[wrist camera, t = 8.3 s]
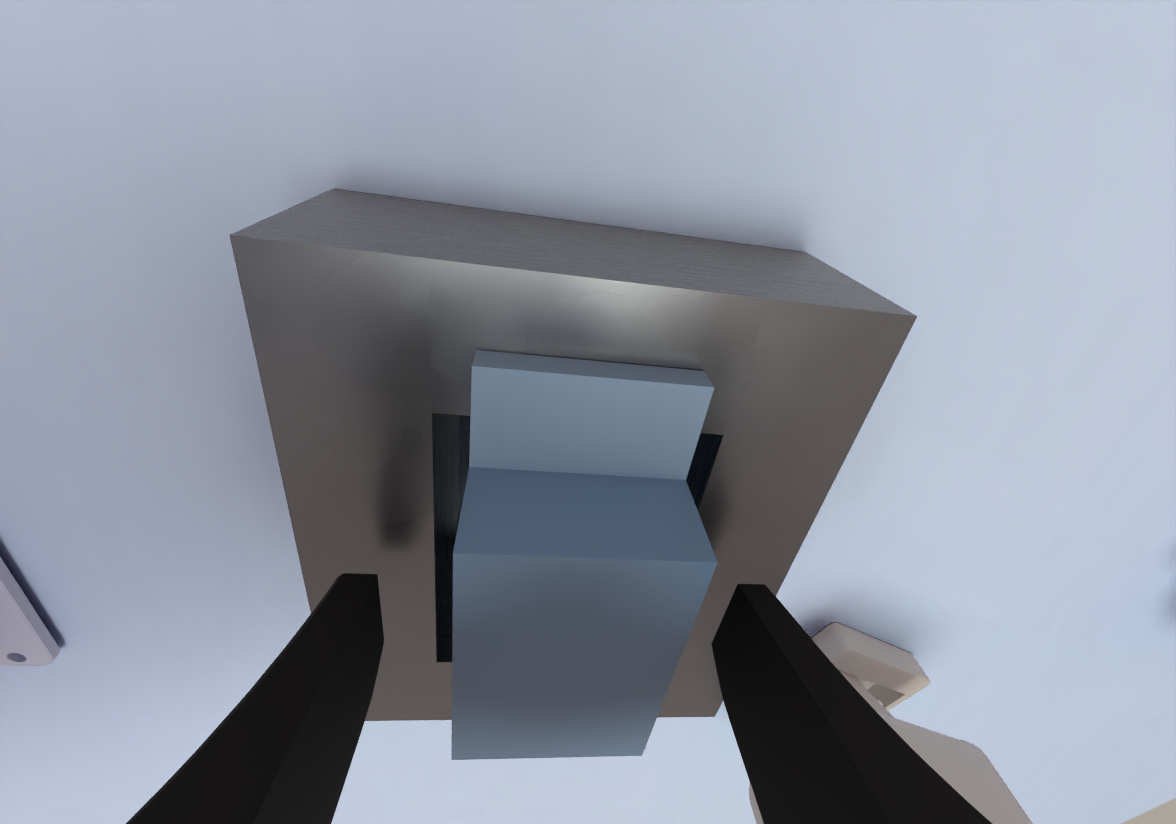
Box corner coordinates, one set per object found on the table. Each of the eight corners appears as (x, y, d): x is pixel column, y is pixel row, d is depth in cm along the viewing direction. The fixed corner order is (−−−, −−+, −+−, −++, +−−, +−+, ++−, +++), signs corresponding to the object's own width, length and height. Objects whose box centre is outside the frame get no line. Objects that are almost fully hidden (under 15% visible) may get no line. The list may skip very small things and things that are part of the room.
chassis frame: (376, 591, 17) (334, 721, 14) (332, 189, 11) (229, 235, 7) (680, 598, 19) (714, 716, 15) (806, 252, 12) (916, 316, 9)
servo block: (480, 561, 17) (451, 803, 11) (495, 272, 12) (453, 439, 6) (596, 565, 18) (625, 797, 12) (655, 291, 13) (758, 459, 7)
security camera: (815, 604, 20) (1019, 973, 12) (922, 649, 22) (1154, 982, 14) (713, 686, 23) (819, 1038, 14) (819, 719, 25) (963, 1036, 17)
